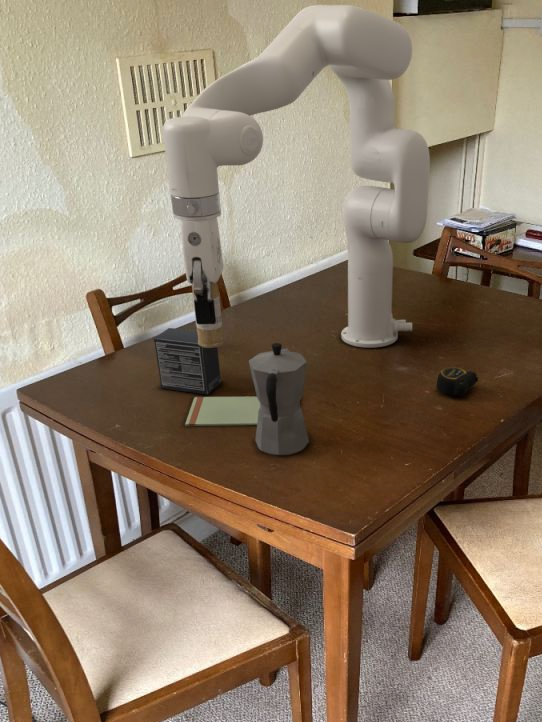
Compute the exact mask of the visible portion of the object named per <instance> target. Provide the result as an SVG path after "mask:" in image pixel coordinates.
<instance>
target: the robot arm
mask: <svg viewBox="0 0 542 722" xmlns="http://www.w3.org/2000/svg"><path fill="white" fill-rule="evenodd" d="M412 57H413V43H412V39H411V36H410V34H409V32H408V31H407V29H406V28H405V27H404V26H403V25H402V24H401V23H399V22H397V21H396V20H393V19H391V18H388V17H385V16H383V15H381V14H378V13H377V12H373V11H371V10H369V9H366V8H363V7H360V6H358V5H353V4H314V5H308V6H306V7H304V8H302V9H301V10H300V11H299V12H297V14H295V16H294V17H293V18H292V19H291V20H290V21H289V22H288V24H286V25H285V27H283V29H282V30H281V31H280V32H279V33H278V34H277V35H276V37H274V39H273V40H272V41H271V42H270V43H269V44H268V45H267V47H266V48H265V49H264V50H263V51H262V52H261V53H260V54H259V55H258V56H257V57H255V58H253V59H252V60H251V59H250V60H249V61H246V62H245V63H243V64H241V65H240V66H238V67H237V68H235V69H232V71H230V72H228V73H226V74H224V75H222V76H221V77H218V78H217V79H215V80H214V81H213V82H211V83H210V84H208V85H207V86H206V87H205V88H204V89H203V90H202V91H201V92H200V93H199V94H198V95H197V96H196V97H195V98H194V100H193V101H191V103H190V104H189V105H188V107H187V108H186V109H185V111H184V112H183V113H182V116H177V117H171V118H168V119H167V120H165V122H164V124H163V126H162V136H163V137H162V138H163V145H164V151H165V152H164V153H165V161H166V162H165V163H166V168H167V169H166V170H167V177H168V185H169V193H170V201H171V210H172V216H173V218H174V219H176V220H178V221H179V223H180V235H181V246H182V254H183V263H184V270H185V277H186V281H187V282H188V283H189V284H190V285H192V283H193V290H192V293H193V292H194V304H193V307H194V306H195V312H194V315H195V314H196V320H195V323H196V322H197V324H215V322H216V317H215V307H214V300H212V295H211V282H213V283H216V282H217V283H218V281H219V280H220V278H221V276H222V272H223V270H224V260H223V259H224V258H223V251H222V243H221V236H220V229H219V223H218V222H219V221H218V217H220V216H221V215H222V208H221V198H220V196H221V195H220V186H219V176H218V168H219V167H223V166H224V167H225V166H227V167H229V166H233V167H234V166H244V165H248V164H250V163H251V162H253V161H254V160H255V159H256V158H257V157H258V156H259V155H260V153H261V152H262V149H263V145H264V134H263V133H264V132H263V130H262V126H260V124H259V122H258V121H257V120H256V119H255V117H252V116H253V115H257V114H261V113H266V112H271V111H274V110H278V109H281V108H284V107H286V106H288V105H291V104H293V103H294V102H296V101H297V100H298V99H299V97H300V96H301V95H302V94H303V92H304V91H305V90H306V89H307V87H309V85H310V84H311V83H312V82H313V80H315V78H316V77H317V76H318V75H319V74H320V73H321V72H322V70H323V69H324V68H326V67H328V68H329V69H330V70H331V71H332V72H333V74H335V76H336V77H337V78H338V79H339V81H340V82H341V84H342V85H343V88H344V89H345V92H346V94H347V98H348V103H349V155H350V157H349V159H350V167H351V170H352V172H353V173H354V174H355V176H357V177H359V178H362V179H365V180H369V181H375V182H383V183H388V184H393V186H394V187H393V189H392V188H389V187H382V186H376V185H360V186H357V187H354V188H353V189H351V190H350V191H349V192H348V193H347V195H346V196H345V198H344V201H343V205H342V220H343V225H344V229H345V230H344V231H345V236H346V243H347V326H346V327H344V328H343V329H342V330H341V332H340V337H341V340H342V342H344V343H346V344H348V345H349V346H352V347H356V348H364V349H371V348H372V349H374V348H375V349H376V348H382V347H387V346H389V345H390V346H391V345H392V344H394V343H395V342H396V341H397V340H398V338H399V332H413V322H407V319H396V318H394V317H393V313H392V311H393V310H392V309H393V279H394V278H393V277H394V255H393V250H392V247H391V244H390V242H395V243H401V244H412V243H414V242H416V241H417V240H418V239H419V238H421V236H422V234H423V233H424V230H425V228H426V224H427V223H426V222H427V218H428V204H429V187H430V186H429V184H430V169H431V167H430V166H431V165H430V164H431V157H430V149H429V146H428V143H427V140H426V139H425V138H424V136H423V135H422V134H421V133H419V132H418V131H415V130H412V129H404V128H397V127H396V124H395V123H396V121H395V118H396V117H395V94H394V90H393V88H392V85H391V82H390V81H391V80H396V79H398V78H401V76H403V75H404V74H405V73H406V72H407V70H408V69H409V66H410V65H411V61H412ZM389 241H390V242H389ZM191 275H192V276H191ZM202 278H207V281H202ZM203 286H207V290H206V288H203Z"/></svg>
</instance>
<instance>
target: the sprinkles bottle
mask: <svg viewBox="0 0 542 722" xmlns="http://www.w3.org/2000/svg"><path fill="white" fill-rule="evenodd" d="M191 276H192V275H191ZM202 281H207V278H202ZM203 288H206V290H207V286H203ZM191 290H192V302H193V310H194V319H195V327H196V331H197V333H198V344H199V345H200V346H202V347H205V348H214V347H217V348H218V347H220V346H222V345H223V344H224V342H225V340H224V336H223V320H222V310H221V299H220V294H219V285H218V281H217V282H216V283H213V282H211V295H212V300H214V307H215V317H216V322H215V324H197V322H196V314H195V306H194V292H193V283H192V284H191Z"/></svg>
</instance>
